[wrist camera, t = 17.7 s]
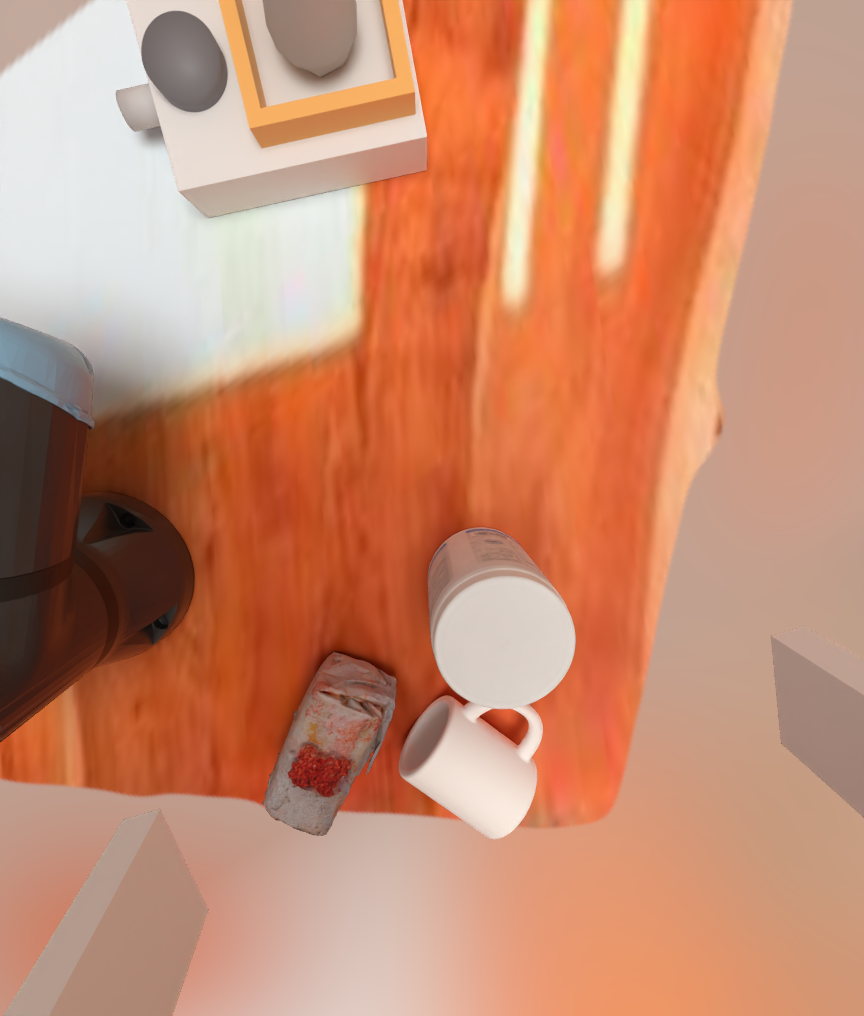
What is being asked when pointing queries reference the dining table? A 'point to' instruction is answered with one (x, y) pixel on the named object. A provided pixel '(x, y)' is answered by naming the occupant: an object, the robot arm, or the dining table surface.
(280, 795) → the food item
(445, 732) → the mug
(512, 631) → the supplement tub
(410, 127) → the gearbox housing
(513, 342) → the dining table surface
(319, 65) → the salt shaker
